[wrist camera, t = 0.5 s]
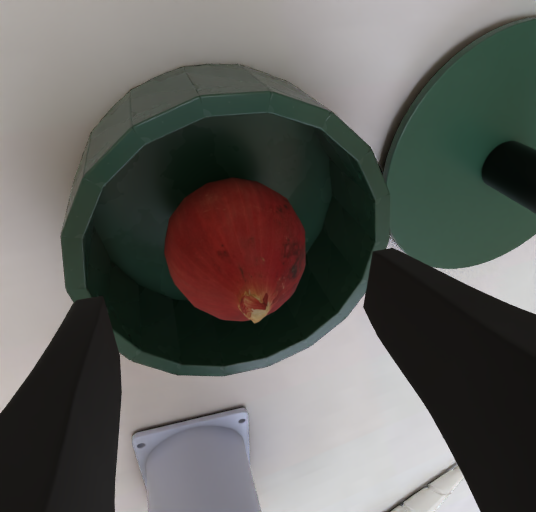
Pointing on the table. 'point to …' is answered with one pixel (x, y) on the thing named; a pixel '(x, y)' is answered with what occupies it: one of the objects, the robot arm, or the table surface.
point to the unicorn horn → (432, 493)
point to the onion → (235, 249)
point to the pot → (195, 176)
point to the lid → (469, 155)
